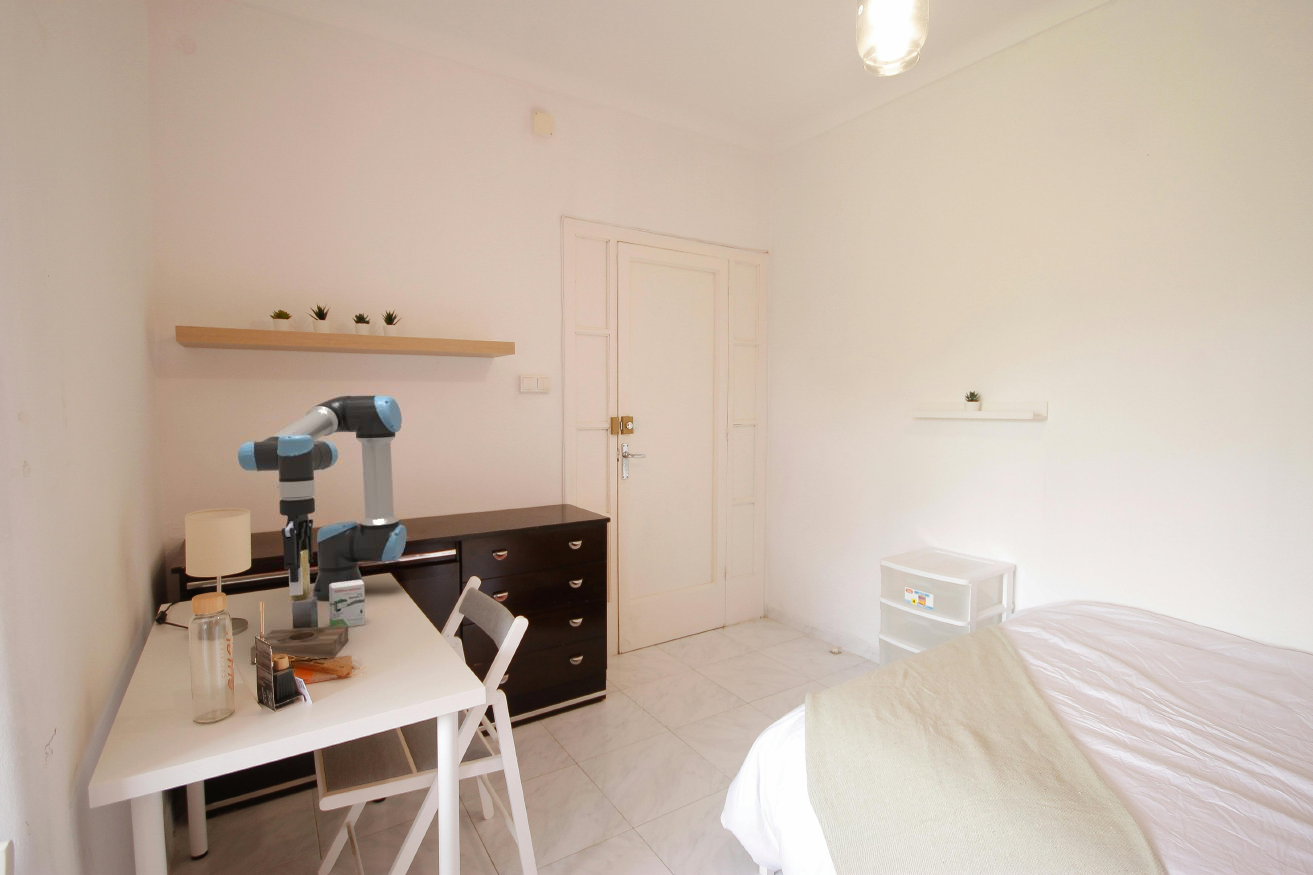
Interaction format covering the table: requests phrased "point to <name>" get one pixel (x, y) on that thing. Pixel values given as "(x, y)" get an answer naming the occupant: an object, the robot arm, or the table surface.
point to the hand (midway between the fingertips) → (300, 591)
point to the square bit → (305, 613)
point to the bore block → (306, 642)
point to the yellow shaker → (303, 577)
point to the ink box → (347, 603)
